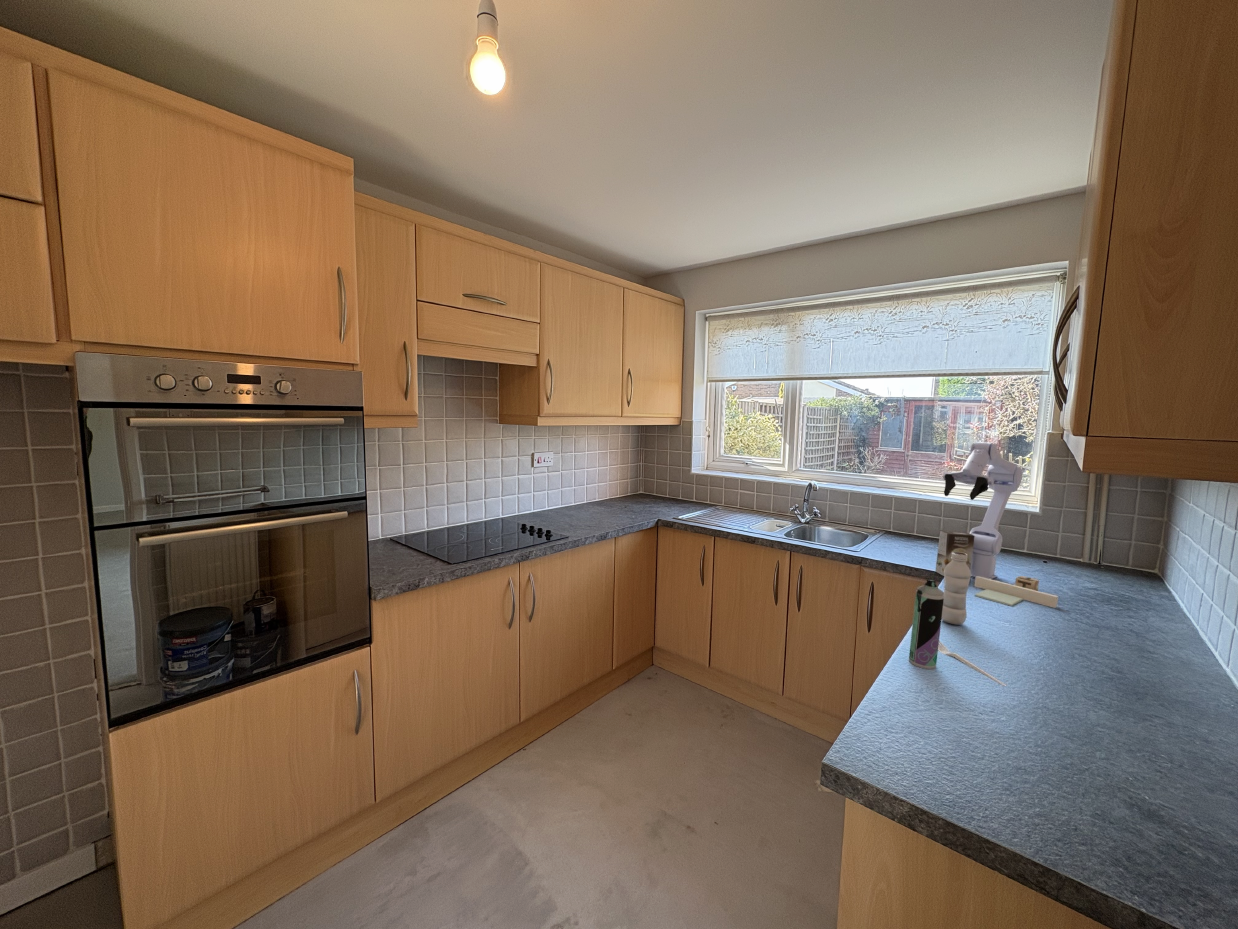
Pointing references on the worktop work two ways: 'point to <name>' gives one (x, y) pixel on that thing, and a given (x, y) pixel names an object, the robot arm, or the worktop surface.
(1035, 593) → the cream board
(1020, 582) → the lettered cube
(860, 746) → the worktop surface
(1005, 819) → the worktop surface
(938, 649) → the fork
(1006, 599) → the pad
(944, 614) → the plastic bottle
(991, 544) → the robot arm
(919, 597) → the spray can
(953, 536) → the coffee box
